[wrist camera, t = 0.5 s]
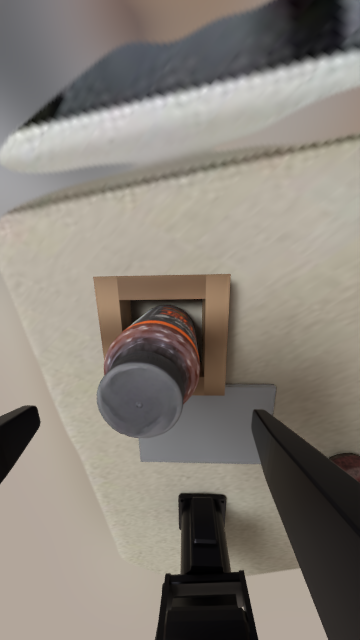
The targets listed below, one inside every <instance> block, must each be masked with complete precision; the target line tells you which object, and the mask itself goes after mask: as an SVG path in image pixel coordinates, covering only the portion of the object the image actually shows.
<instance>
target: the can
mask: <svg viewBox="0 0 360 640" xmlns="http://www.w3.org/2000/svg"><path fill="white" fill-rule="evenodd" d="M329 459H330V460H331V461H332V462H334V463H335V464H336V465H338V466H339V467H340V468H342V469H343V470H344V471H345V472H347V473H348V474H349V475H351V476H352V477H353V478H355V479H356V480H357V481H358V482H360V456H358V455H355V454H352V453H343V454H337V455H335V456H333V457H331V458H329Z"/></svg>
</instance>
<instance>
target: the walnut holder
mask: <svg viewBox="0 0 360 640" xmlns="http://www.w3.org/2000/svg"><path fill="white" fill-rule="evenodd" d="M230 276H231V274H211V275H159V276H108V277H93V279H94V286H95V294H96V301H97V309H98V316H99V324H100V331H101V339H102V346H103V354H104V360H105V356H106V353H107V351H108V349H109V347H110V345H111V344H112V342H113V341H114V340H115V339H116V338H117V336H119V335H120V334H121V333H122V332H123V331H124V330H125V329H126V328H128V327H129V326H130V325H131V324H132V315H131V303H130V300H159V299H202V362H200V375H199V381H198V384H197V387H196V389H195V391H194V393H193V394H192V395H197V396H225V377H226V357H227V337H228V317H229V296H230Z"/></svg>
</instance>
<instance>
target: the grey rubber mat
mask: <svg viewBox="0 0 360 640" xmlns="http://www.w3.org/2000/svg"><path fill="white" fill-rule="evenodd" d="M275 394H276V387H275V385H274V384H225V396H197V395H192V396H191V397H190V398H189V399H188V401H187V402H186V403H184V404H183V409H182V413H181V415H180V418H179V419H178V421H177V422H176V424H175V425H174V426H173V427H172V428H171V429H170V430H168V431H167V432H165V433H164V434H161V435H158V436H155V437H151V438H139V448H140V459H141V462H183V463H231V464H261V462H260V458H259V455H258V451H257V448H256V445H255V441H254V438H253V434H252V430H251V423H252V413H253V410H254V409H264V410H266V411H267V412H268V413H270V414H271V415H272V416H273V410H274V402H275Z"/></svg>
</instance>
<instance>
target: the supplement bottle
mask: <svg viewBox="0 0 360 640" xmlns="http://www.w3.org/2000/svg"><path fill="white" fill-rule="evenodd" d="M199 375H200V362H199V354H198V347H197V341H196V334H195V327H194V325H193V322H192V320H191V318H190V317H189V316H188V315H187V313H186V312H184V311H183V310H182V309H180V308H178V307H175V306H171V305H160V306H157V307H155V308H152V309H151V310H149V311H148V312H146V313H145V314H144V315H143V316H141V317H140V318H139V319H138V320H137V321H135V322H134V323H133V324H131V325H130V326H129V327H128V328H126V329H125V330H124V331H123V332H122V333H121V334H120V335H119V336H117V338H116V339H115V340H114V341H113V342H112V344H111V345H110V347H109V349H108V351H107V353H106V356H105V360H104V377H103V379H102V380H101V382H100V384H99V387H98V390H97V404H98V408H99V411H100V413H101V415H102V416H103V418H104V420H105V421H106V422H107V423H108V424H109V425H110V426H111V427H112V428H113V429H114V430H116V431H118V432H119V433H121V434H125V435H127V436H129V437H134V438H151V437H155V436H158V435H161V434H164V433H165V432H167V431H168V430H170V429H171V428H172V427H173V426H174V425H175V424H176V422H177V421H178V419H179V418H180V415H181V413H182V409H183V404H184V403H186V402H187V401H188V399H189V398H190V397H191V396H192V394H193V393H194V391H195V389H196V387H197V384H198V381H199Z"/></svg>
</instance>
